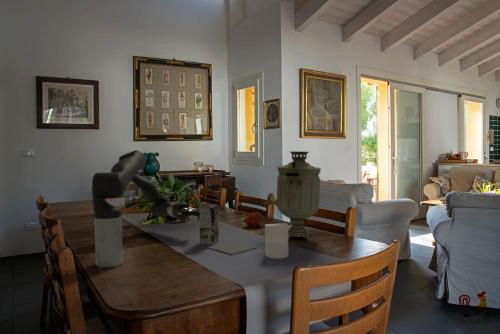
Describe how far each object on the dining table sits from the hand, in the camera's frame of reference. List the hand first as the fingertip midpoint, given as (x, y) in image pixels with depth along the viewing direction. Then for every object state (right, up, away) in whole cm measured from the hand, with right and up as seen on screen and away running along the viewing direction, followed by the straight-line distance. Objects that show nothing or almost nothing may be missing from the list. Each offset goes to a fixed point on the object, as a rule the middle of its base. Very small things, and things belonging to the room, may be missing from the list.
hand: (199, 213), depth 176 cm
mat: (+15, -13, -15) cm, 24 cm away
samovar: (+43, -12, +5) cm, 45 cm away
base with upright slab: (+33, -13, -26) cm, 44 cm away
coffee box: (+5, -12, -4) cm, 14 cm away
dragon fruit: (+25, -11, +30) cm, 40 cm away
